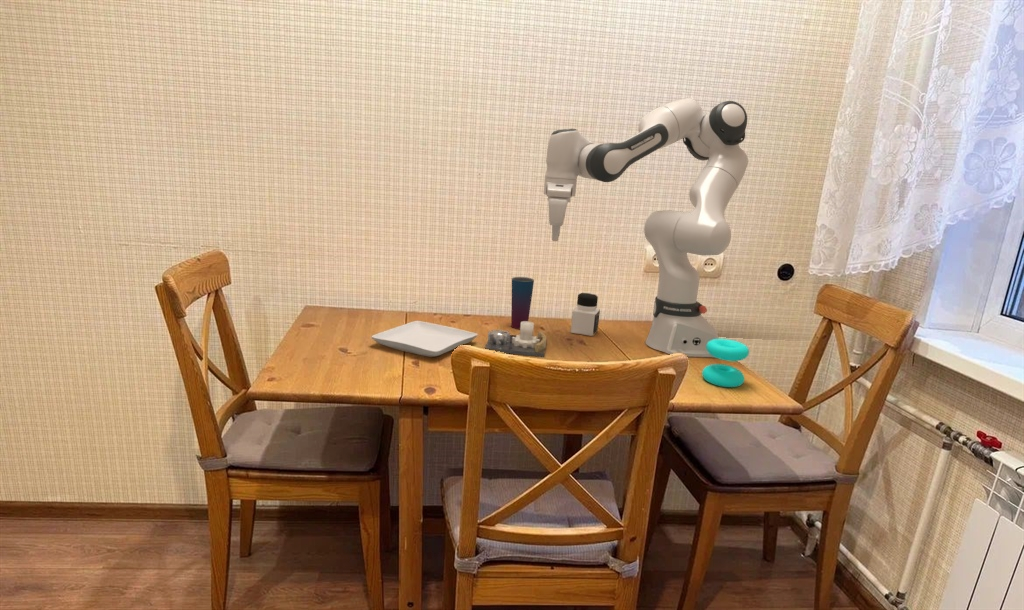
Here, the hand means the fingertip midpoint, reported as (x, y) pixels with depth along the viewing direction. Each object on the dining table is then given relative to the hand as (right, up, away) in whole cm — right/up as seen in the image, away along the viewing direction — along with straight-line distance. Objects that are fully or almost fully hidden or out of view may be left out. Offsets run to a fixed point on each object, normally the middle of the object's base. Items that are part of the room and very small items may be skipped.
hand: (555, 238), depth 171 cm
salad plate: (-36, -30, -8) cm, 47 cm away
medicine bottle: (+10, -27, +15) cm, 33 cm away
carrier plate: (-11, -30, -4) cm, 32 cm away
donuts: (+40, -38, -20) cm, 59 cm away
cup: (-10, -26, +16) cm, 32 cm away
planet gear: (-9, -30, -4) cm, 31 cm away
